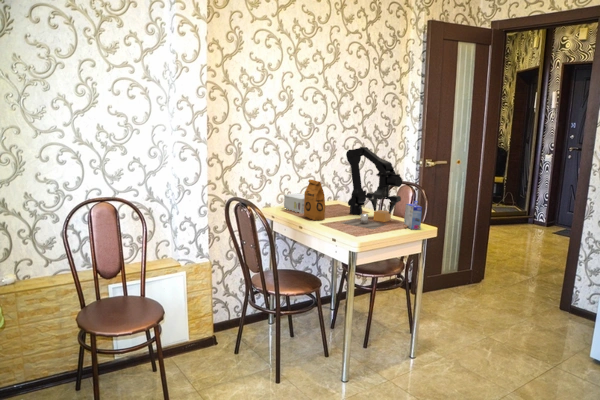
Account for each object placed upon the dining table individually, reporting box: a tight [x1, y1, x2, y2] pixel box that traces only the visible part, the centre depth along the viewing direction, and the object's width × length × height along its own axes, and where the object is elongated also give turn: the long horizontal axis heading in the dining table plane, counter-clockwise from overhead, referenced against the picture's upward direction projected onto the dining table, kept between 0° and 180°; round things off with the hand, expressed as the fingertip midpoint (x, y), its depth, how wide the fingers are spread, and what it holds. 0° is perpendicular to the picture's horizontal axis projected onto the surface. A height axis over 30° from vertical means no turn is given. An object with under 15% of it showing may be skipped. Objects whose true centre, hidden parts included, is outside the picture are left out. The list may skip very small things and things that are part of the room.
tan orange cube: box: [373, 209, 392, 223], centre depth 250 cm, size 7×7×6 cm
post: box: [360, 213, 369, 224], centre depth 240 cm, size 4×4×5 cm
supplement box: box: [283, 192, 304, 214], centre depth 278 cm, size 17×13×9 cm
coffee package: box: [303, 179, 326, 221], centre depth 253 cm, size 10×12×22 cm
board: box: [341, 218, 388, 230], centre depth 240 cm, size 20×16×1 cm
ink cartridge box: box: [403, 200, 423, 230], centre depth 238 cm, size 10×6×14 cm, turn 11°
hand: (382, 212), depth 250 cm, fingers open, 9 cm apart
